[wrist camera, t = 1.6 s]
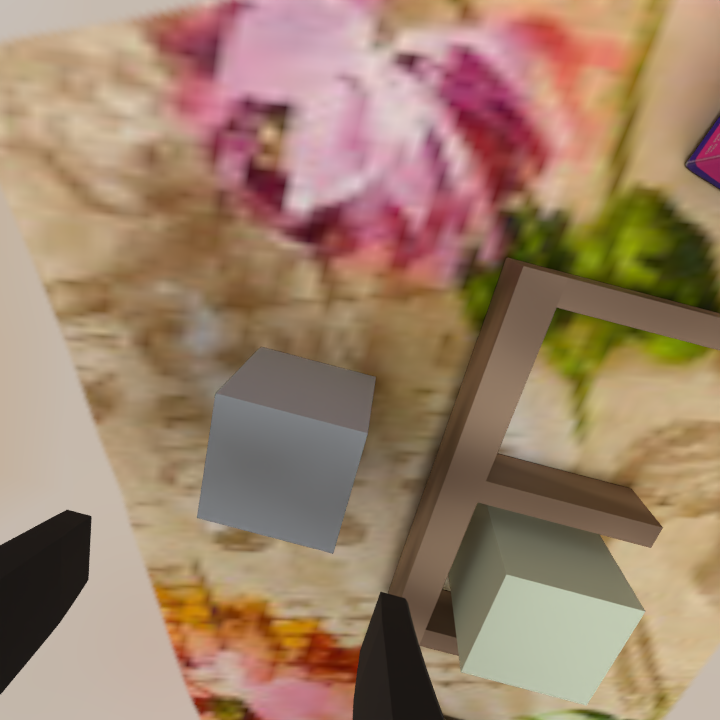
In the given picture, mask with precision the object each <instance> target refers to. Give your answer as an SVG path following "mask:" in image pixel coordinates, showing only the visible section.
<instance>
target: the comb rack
mask: <svg viewBox="0 0 720 720" xmlns="http://www.w3.org/2000/svg"><path fill="white" fill-rule="evenodd" d="M556 307H557V308H561V309H565V310H568V311H572V312H576V313H580V314H584V315H587V316H591V317H595V318H599V319H603V320H606V321H610V322H614V323H618V324H622V325H626V326H629V327H633V328H637V329H641V330H645V331H648V332H652V333H656V334H660V335H664V336H667V337H671V338H675V339H679V340H683V341H686V342H690V343H694V344H698V345H702V346H705V347H709V348H713V349H717V350H720V313H717V312H713V311H709V310H705V309H701V308H698V307H694V306H690V305H686V304H682V303H679V302H675V301H671V300H667V299H663V298H660V297H656V296H652V295H648V294H644V293H641V292H637V291H633V290H629V289H625V288H622V287H618V286H614V285H610V284H606V283H603V282H599V281H595V280H591V279H587V278H583V277H580V276H576V275H572V274H568V273H564V272H561V271H557V270H553V269H549V268H545V267H542V266H538V265H534V264H530V263H526V262H523V261H519V260H515V259H511V258H507V257H506V260H505V263H504V266H503V269H502V271H501V274H500V277H499V280H498V283H497V286H496V288H495V291H494V294H493V297H492V300H491V303H490V305H489V308H488V311H487V314H486V317H485V320H484V322H483V325H482V328H481V331H480V334H479V337H478V339H477V342H476V345H475V348H474V351H473V354H472V356H471V359H470V362H469V365H468V368H467V371H466V373H465V376H464V379H463V382H462V385H461V388H460V390H459V393H458V396H457V399H456V402H455V405H454V407H453V410H452V413H451V416H450V419H449V421H448V424H447V427H446V430H445V433H444V436H443V438H442V441H441V444H440V447H439V450H438V453H437V455H436V458H435V461H434V464H433V467H432V470H431V472H430V475H429V478H428V481H427V484H426V487H425V489H424V492H423V495H422V498H421V501H420V504H419V506H418V509H417V512H416V515H415V518H414V521H413V523H412V526H411V529H410V532H409V535H408V538H407V540H406V543H405V546H404V549H403V552H402V555H401V557H400V560H399V563H398V566H397V569H396V572H395V574H394V577H393V580H392V583H391V586H390V589H389V591H388V594H391V595H395V596H399V597H403V598H405V599H406V600H407V602H408V605H409V609H410V613H411V617H412V621H413V625H414V629H415V632H416V636H417V639H418V643H419V646H423V647H427V648H430V649H434V650H438V651H442V652H446V653H450V654H453V655H457V656H459V653H458V645H457V637H456V629H455V621H454V613H453V605H452V597H451V592H448V591H445V590H442V588H443V586H444V583H445V581H446V578H447V576H448V573H449V571H450V568H451V566H452V563H453V561H454V558H455V556H456V554H457V551H458V549H459V546H460V544H461V541H462V539H463V536H464V534H465V531H466V529H467V526H468V524H469V522H470V519H471V517H472V514H473V512H474V509H475V507H476V504H477V502H478V503H482V504H486V505H489V506H493V507H497V508H501V509H505V510H508V511H512V512H516V513H520V514H524V515H528V516H531V517H535V518H539V519H543V520H547V521H550V522H554V523H558V524H562V525H566V526H570V527H573V528H577V529H581V530H585V531H589V532H592V533H596V534H600V535H604V536H608V537H612V538H615V539H619V540H623V541H627V542H631V543H634V544H638V545H642V546H646V547H650V548H651V547H652V545H653V543H654V542H655V540H656V538H657V537H658V535H659V533H660V532H661V530H662V528H663V527H662V526H661V525H660V523H659V522H658V521H657V520H656V519H655V517H654V516H653V515H652V514H651V512H650V511H649V510H648V509H647V507H646V506H645V505H644V504H643V502H642V501H641V500H640V499H639V497H638V496H637V495H636V494H635V492H634V491H633V490H632V489H630V488H627V487H623V486H619V485H615V484H611V483H608V482H604V481H600V480H596V479H592V478H588V477H585V476H581V475H577V474H573V473H569V472H566V471H562V470H558V469H554V468H550V467H546V466H543V465H539V464H535V463H531V462H527V461H524V460H520V459H516V458H512V457H508V456H505V455H501V454H497V453H498V450H499V448H500V445H501V443H502V440H503V438H504V435H505V433H506V431H507V428H508V426H509V423H510V421H511V418H512V416H513V413H514V411H515V408H516V406H517V403H518V401H519V399H520V396H521V394H522V391H523V389H524V386H525V384H526V381H527V379H528V376H529V374H530V371H531V369H532V367H533V364H534V362H535V359H536V357H537V354H538V352H539V349H540V347H541V344H542V342H543V339H544V337H545V335H546V332H547V330H548V327H549V325H550V322H551V320H552V317H553V315H554V312H555V310H556Z"/></svg>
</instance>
